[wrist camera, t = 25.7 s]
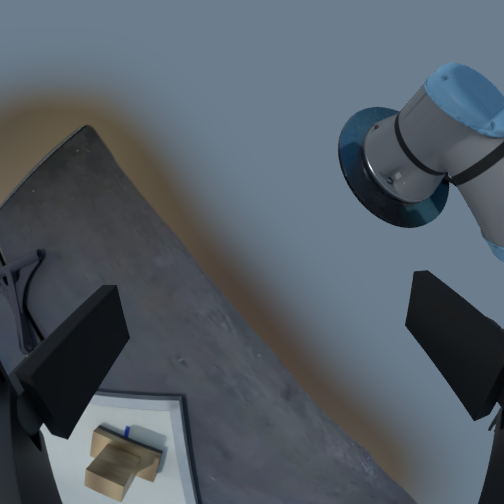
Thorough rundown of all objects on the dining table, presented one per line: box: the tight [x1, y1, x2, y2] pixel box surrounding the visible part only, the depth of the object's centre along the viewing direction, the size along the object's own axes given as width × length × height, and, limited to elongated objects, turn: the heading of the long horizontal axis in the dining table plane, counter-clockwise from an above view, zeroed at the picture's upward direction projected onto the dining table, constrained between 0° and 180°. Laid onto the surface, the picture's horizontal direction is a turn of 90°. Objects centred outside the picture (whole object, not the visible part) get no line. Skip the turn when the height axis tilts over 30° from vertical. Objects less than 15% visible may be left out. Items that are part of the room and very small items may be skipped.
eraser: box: [84, 425, 163, 502], centre depth 28 cm, size 10×5×10 cm, turn 73°
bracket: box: [0, 249, 42, 355], centre depth 35 cm, size 14×15×3 cm
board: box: [40, 391, 198, 504], centre depth 32 cm, size 30×32×2 cm
